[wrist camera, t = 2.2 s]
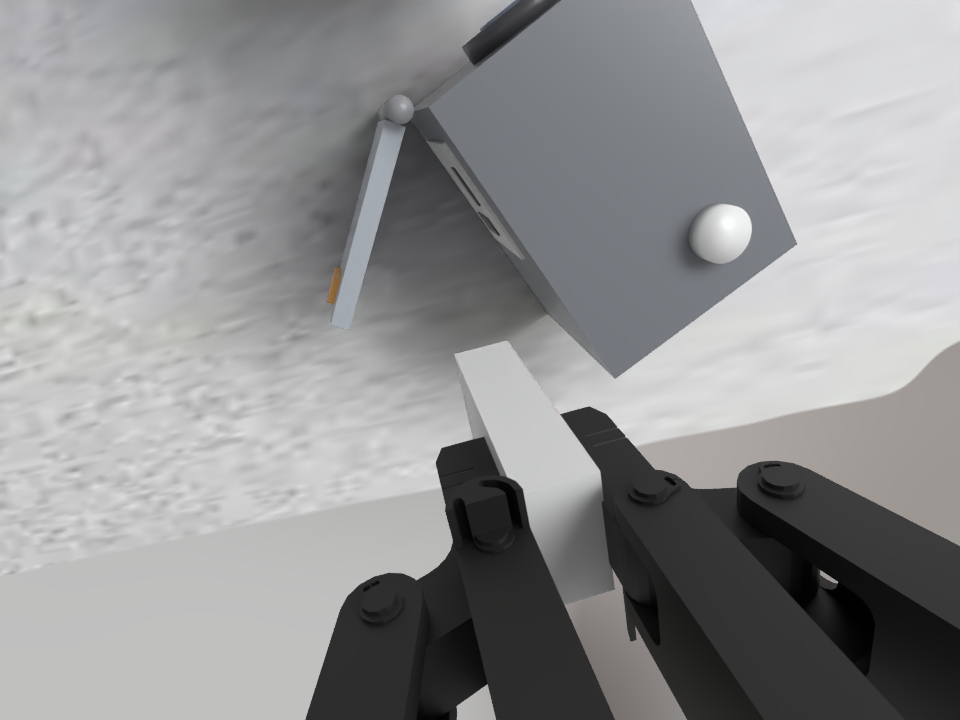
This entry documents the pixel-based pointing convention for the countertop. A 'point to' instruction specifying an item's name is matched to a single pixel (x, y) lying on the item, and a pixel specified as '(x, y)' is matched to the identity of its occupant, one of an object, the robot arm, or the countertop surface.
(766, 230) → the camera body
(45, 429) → the countertop surface
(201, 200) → the countertop surface
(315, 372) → the countertop surface
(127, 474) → the countertop surface
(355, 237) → the side door
